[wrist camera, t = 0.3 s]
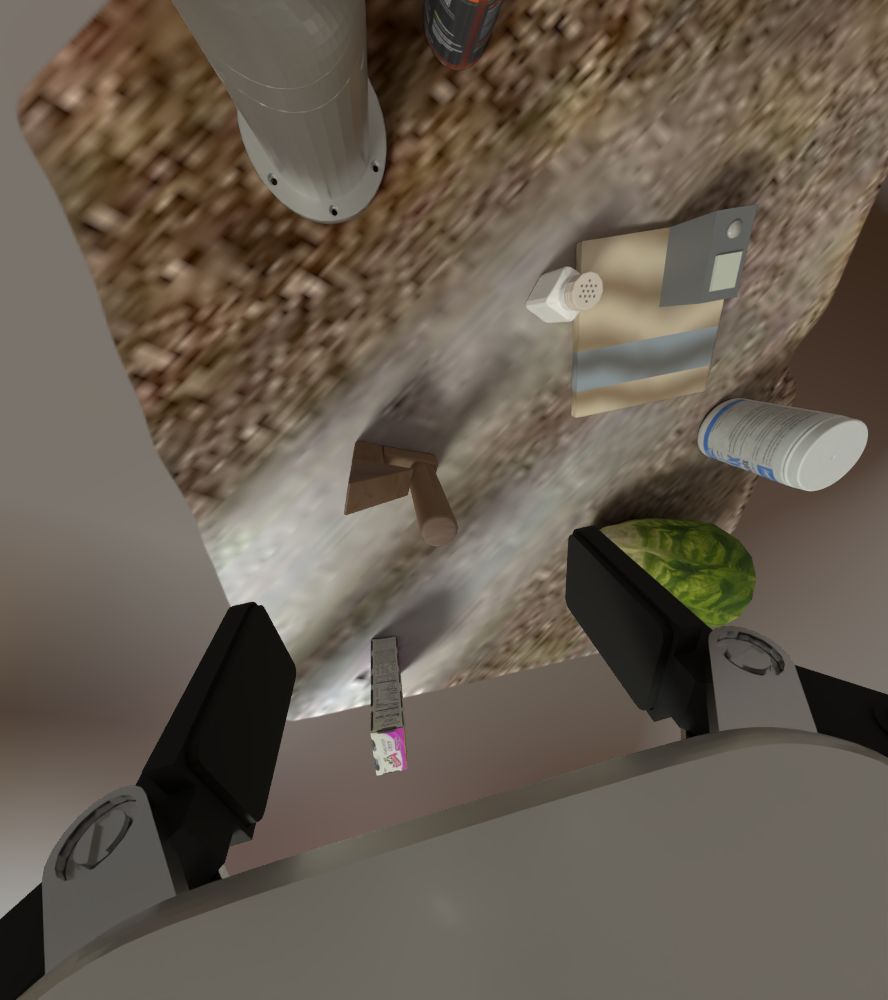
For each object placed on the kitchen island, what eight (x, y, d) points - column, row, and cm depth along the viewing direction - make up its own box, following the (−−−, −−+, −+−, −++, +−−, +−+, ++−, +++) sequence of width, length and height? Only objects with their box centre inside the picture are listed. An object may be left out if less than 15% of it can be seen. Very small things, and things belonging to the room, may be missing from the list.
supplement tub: (685, 456, 55) (781, 495, 42) (707, 396, 50) (822, 419, 37) (734, 454, 56) (841, 491, 43) (760, 396, 52) (887, 417, 39)
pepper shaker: (522, 306, 40) (560, 300, 32) (540, 272, 39) (586, 256, 30) (546, 324, 42) (589, 323, 33) (565, 292, 40) (615, 282, 32)
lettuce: (568, 510, 63) (630, 482, 48) (677, 538, 66) (769, 520, 50) (561, 600, 58) (627, 601, 42) (679, 626, 61) (782, 636, 45)
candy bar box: (401, 674, 66) (408, 770, 51) (375, 678, 65) (375, 777, 50) (398, 634, 61) (405, 728, 46) (370, 638, 60) (368, 735, 45)
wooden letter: (355, 439, 44) (344, 500, 28) (434, 454, 46) (465, 517, 31) (352, 465, 45) (339, 537, 29) (428, 478, 48) (455, 549, 32)
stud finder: (669, 227, 38) (719, 209, 33) (705, 221, 38) (760, 203, 33) (659, 307, 42) (702, 303, 36) (691, 301, 42) (739, 296, 37)
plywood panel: (576, 243, 38) (582, 241, 37) (732, 219, 40) (741, 216, 39) (571, 415, 48) (575, 417, 47) (697, 389, 49) (704, 390, 48)
